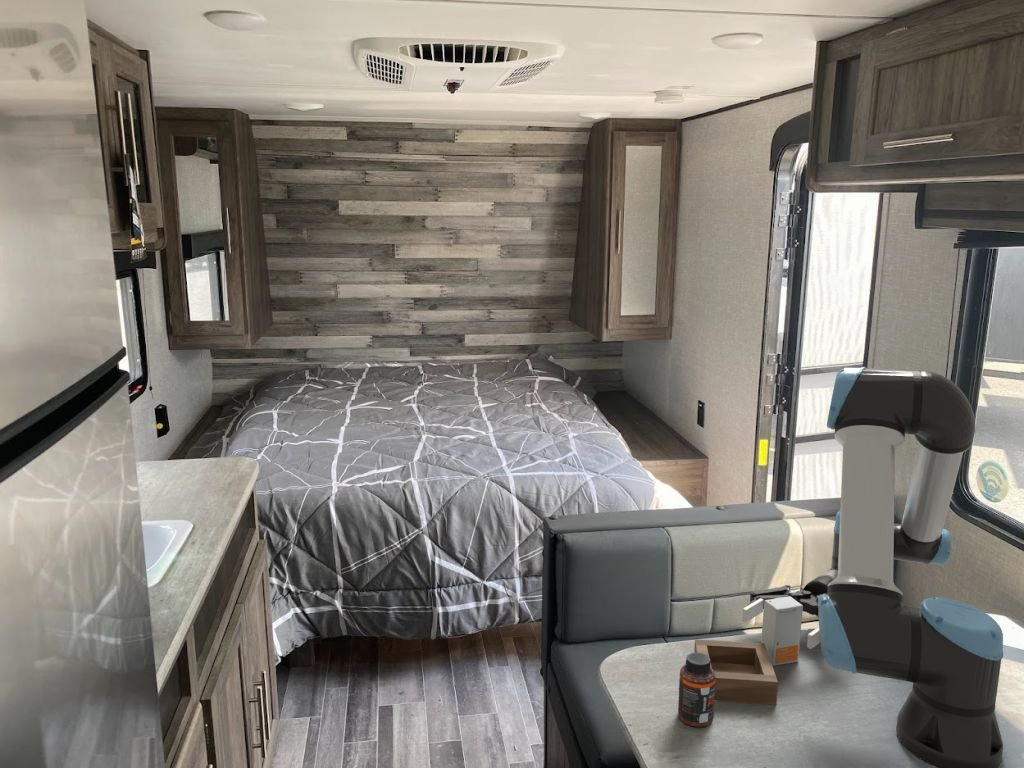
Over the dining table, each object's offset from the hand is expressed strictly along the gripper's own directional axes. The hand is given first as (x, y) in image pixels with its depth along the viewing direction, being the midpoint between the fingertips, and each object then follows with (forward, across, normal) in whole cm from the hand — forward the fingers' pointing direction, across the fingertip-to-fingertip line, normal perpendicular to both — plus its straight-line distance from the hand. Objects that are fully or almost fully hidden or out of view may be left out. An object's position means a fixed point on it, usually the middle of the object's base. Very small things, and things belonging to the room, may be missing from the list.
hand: (775, 628), depth 151 cm
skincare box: (-2, 0, -7) cm, 8 cm away
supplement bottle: (+26, 0, -7) cm, 27 cm away
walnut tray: (+12, +2, -7) cm, 14 cm away
